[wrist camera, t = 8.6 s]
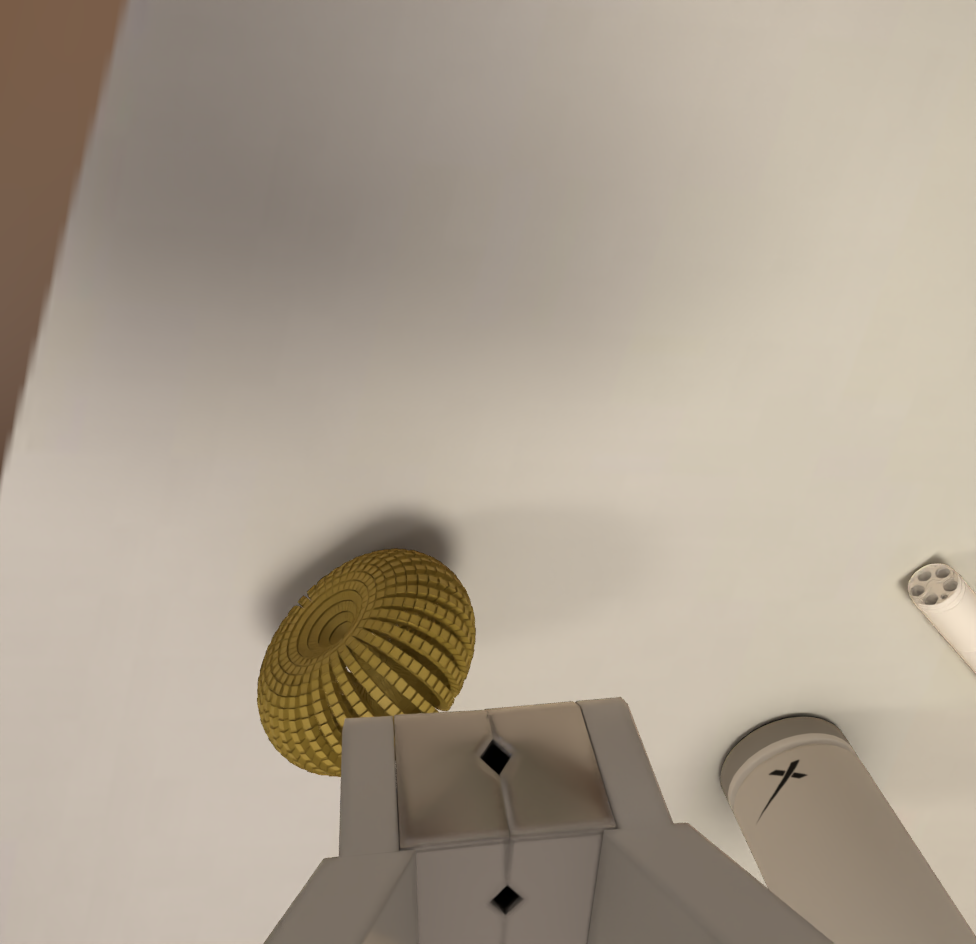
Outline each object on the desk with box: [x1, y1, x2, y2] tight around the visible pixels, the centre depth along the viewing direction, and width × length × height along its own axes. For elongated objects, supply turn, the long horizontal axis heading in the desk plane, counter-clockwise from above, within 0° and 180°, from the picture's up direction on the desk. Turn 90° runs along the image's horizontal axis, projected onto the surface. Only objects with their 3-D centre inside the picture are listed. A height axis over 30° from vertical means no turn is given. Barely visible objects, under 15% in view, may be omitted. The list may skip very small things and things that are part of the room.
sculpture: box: [257, 548, 476, 777], centre depth 28 cm, size 8×4×8 cm, turn 124°
